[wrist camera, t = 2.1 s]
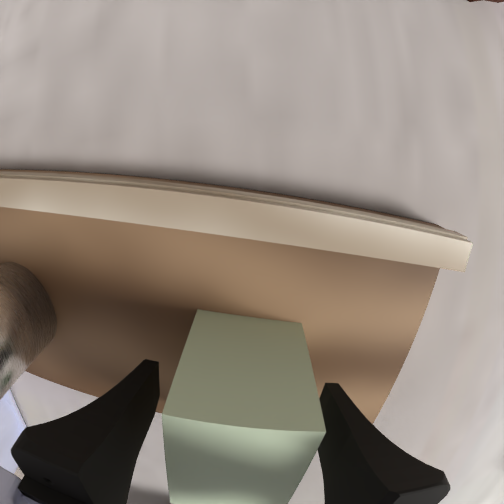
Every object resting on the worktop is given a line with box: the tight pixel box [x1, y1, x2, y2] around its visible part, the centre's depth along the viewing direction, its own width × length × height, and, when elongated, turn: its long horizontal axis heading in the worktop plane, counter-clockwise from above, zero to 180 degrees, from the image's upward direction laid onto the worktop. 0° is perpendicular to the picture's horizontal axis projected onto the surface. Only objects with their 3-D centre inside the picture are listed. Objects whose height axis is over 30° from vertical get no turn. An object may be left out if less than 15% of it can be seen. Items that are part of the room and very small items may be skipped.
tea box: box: [162, 309, 326, 504], centre depth 11 cm, size 4×6×6 cm
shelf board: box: [0, 169, 473, 424], centre depth 13 cm, size 12×24×3 cm, turn 82°
